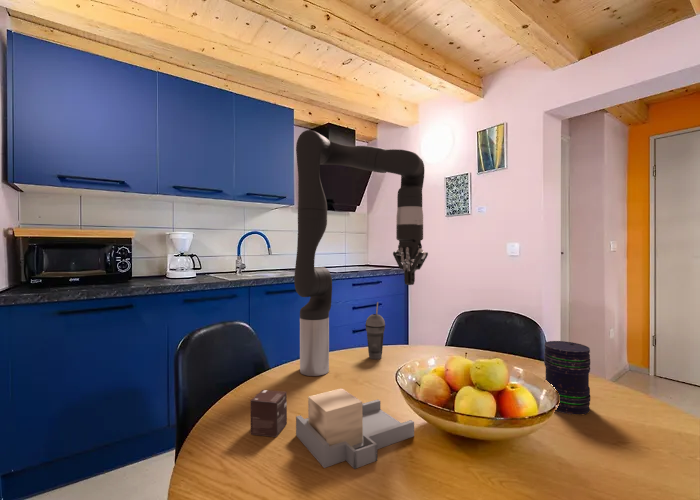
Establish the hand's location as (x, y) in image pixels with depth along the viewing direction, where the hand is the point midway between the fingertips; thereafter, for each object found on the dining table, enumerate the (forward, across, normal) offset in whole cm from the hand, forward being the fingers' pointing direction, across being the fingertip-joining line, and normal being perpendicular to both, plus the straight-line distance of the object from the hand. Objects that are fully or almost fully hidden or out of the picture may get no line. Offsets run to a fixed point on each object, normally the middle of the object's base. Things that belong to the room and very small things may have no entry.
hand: (409, 284), depth 102 cm
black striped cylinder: (+29, +30, +25) cm, 49 cm away
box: (+29, +3, -42) cm, 51 cm away
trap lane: (+29, +15, -27) cm, 42 cm away
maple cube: (+28, +16, -32) cm, 46 cm away
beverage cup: (+29, -27, +7) cm, 40 cm away
